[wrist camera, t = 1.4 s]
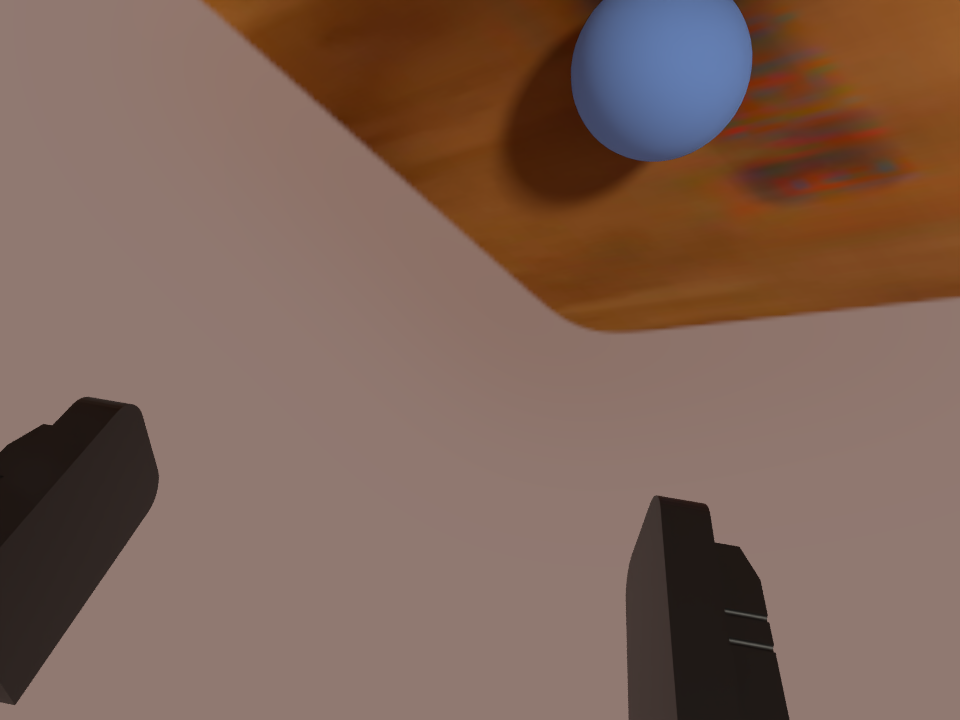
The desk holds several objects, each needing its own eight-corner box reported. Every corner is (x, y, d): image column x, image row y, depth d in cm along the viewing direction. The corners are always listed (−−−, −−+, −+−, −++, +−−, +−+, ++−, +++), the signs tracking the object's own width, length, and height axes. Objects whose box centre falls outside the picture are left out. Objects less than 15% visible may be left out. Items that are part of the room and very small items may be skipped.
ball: (733, -64, 24) (762, -39, 19) (743, 110, 27) (770, 168, 22) (560, -15, 25) (548, 19, 21) (589, 142, 29) (584, 203, 24)
